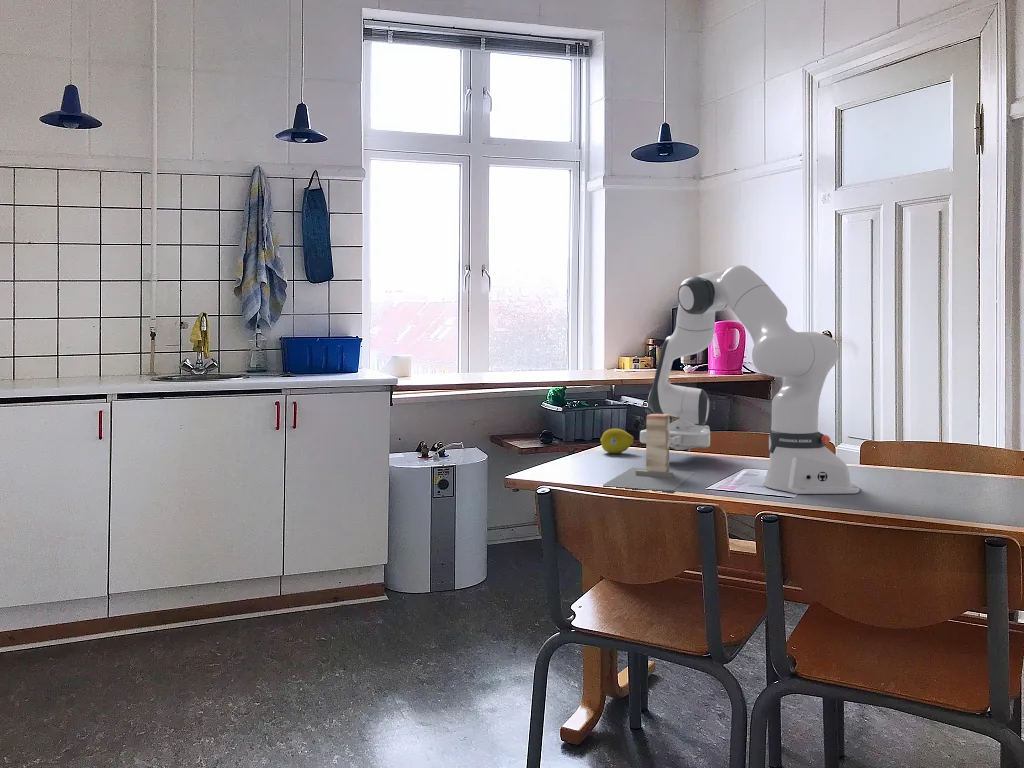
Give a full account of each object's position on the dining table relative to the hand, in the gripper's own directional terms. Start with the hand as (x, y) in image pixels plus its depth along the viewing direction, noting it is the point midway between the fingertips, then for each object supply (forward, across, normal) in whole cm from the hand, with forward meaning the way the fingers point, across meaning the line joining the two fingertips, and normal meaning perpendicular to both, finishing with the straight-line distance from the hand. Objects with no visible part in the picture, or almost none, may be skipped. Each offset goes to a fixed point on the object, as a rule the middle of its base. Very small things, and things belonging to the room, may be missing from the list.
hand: (669, 441), depth 235 cm
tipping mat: (+19, 0, +8) cm, 20 cm away
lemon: (-21, -22, +8) cm, 31 cm away
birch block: (+12, 0, +7) cm, 14 cm away
